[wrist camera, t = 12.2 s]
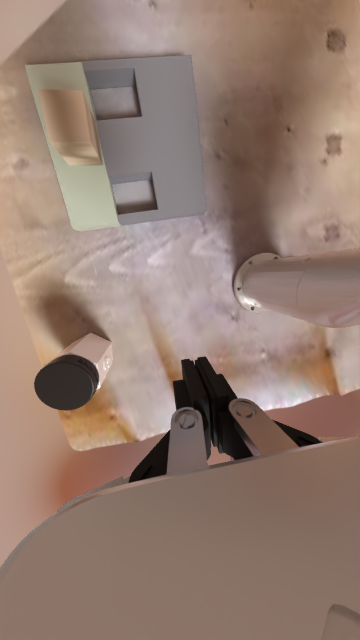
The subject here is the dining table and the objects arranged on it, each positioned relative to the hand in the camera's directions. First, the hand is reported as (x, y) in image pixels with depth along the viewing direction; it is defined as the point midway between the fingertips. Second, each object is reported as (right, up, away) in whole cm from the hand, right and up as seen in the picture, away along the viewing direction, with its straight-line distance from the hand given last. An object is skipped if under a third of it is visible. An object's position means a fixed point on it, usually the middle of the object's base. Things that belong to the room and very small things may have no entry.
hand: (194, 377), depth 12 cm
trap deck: (-9, +31, +18) cm, 37 cm away
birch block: (-16, +30, +15) cm, 37 cm away
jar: (-19, -3, +25) cm, 32 cm away
